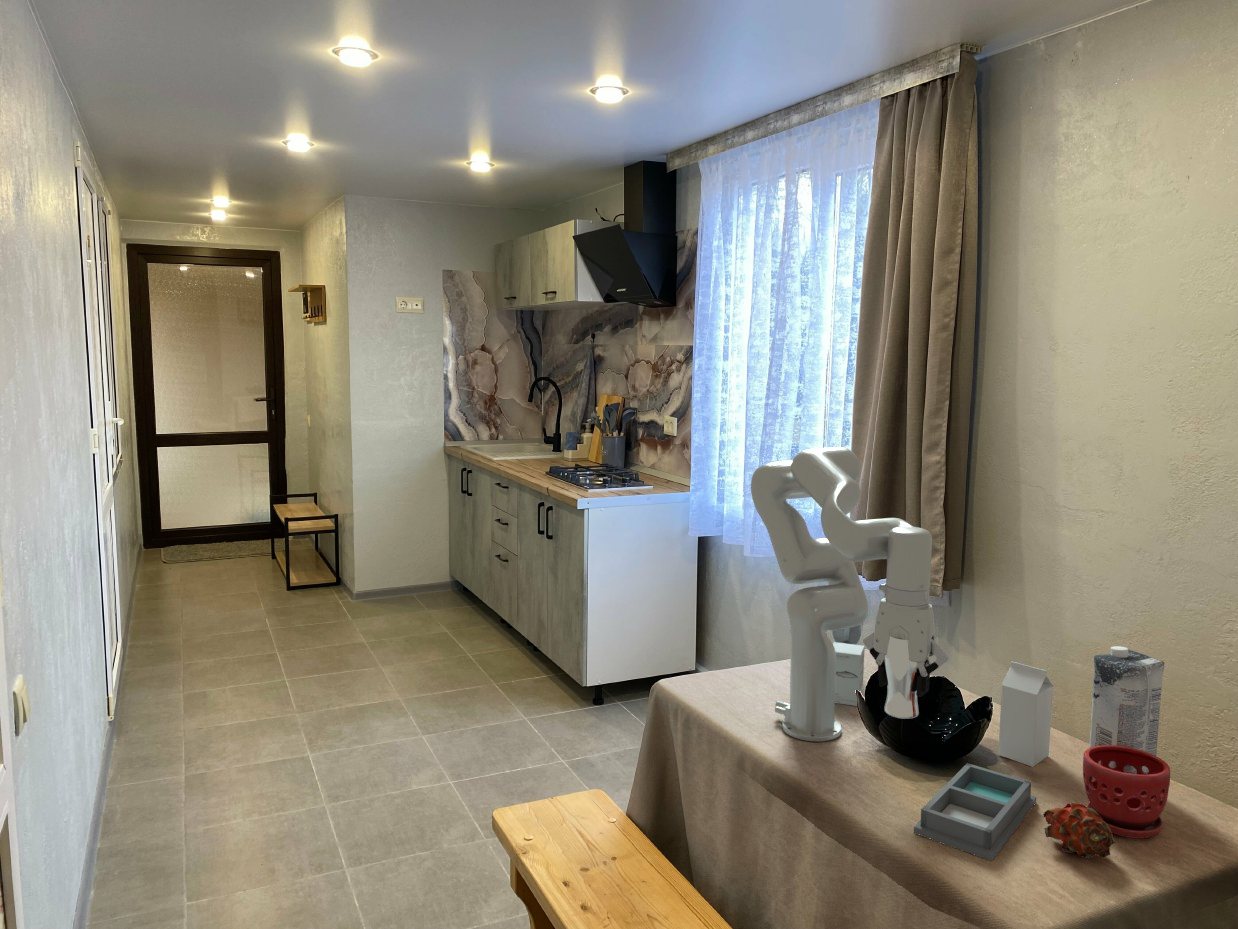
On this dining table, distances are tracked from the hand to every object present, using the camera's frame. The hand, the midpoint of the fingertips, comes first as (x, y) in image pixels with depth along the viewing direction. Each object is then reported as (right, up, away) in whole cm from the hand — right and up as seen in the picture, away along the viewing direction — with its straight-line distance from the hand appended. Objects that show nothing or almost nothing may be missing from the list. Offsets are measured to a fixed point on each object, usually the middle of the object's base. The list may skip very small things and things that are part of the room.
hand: (902, 688), depth 165 cm
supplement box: (+1, -14, +46) cm, 48 cm away
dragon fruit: (+23, -23, -17) cm, 37 cm away
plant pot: (+35, -21, -9) cm, 42 cm away
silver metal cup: (0, -5, +1) cm, 5 cm away
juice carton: (+41, -20, +3) cm, 46 cm away
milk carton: (+30, -18, +17) cm, 38 cm away
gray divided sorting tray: (+11, -21, -7) cm, 25 cm away
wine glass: (+5, -12, +61) cm, 62 cm away
